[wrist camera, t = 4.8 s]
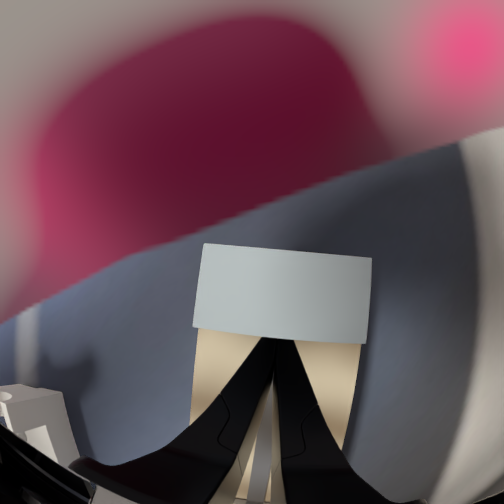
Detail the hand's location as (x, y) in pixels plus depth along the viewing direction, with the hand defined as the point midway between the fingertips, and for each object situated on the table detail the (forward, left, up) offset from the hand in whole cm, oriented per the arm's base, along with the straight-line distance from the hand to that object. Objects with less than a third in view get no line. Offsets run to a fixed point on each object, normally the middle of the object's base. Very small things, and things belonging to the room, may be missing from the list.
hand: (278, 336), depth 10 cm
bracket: (-2, +26, -9) cm, 28 cm away
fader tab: (+1, -1, -6) cm, 6 cm away
